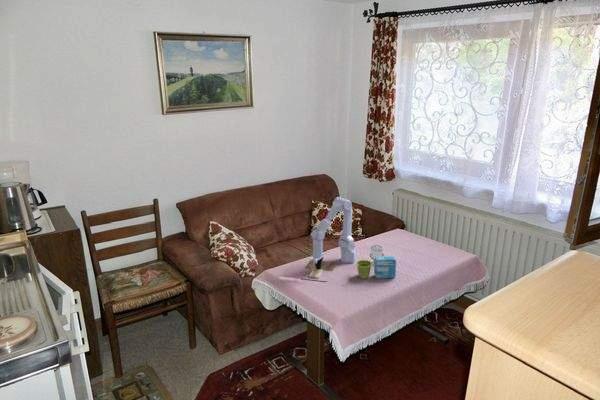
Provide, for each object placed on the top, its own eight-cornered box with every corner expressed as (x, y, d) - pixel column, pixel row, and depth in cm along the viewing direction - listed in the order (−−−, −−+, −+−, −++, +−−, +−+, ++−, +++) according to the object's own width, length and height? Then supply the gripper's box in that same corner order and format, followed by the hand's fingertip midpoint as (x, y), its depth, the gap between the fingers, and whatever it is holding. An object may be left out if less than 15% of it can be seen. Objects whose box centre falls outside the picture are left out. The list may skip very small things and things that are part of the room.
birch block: (322, 272, 255) (322, 269, 254) (318, 280, 246) (318, 276, 245) (313, 271, 256) (313, 268, 256) (309, 278, 247) (309, 275, 247)
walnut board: (337, 264, 266) (337, 262, 266) (332, 273, 254) (332, 271, 254) (310, 261, 271) (310, 259, 271) (304, 270, 260) (304, 268, 259)
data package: (375, 278, 246) (375, 260, 243) (374, 274, 251) (374, 256, 247) (395, 277, 246) (396, 259, 243) (393, 274, 250) (394, 256, 247)
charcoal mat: (331, 273, 255) (331, 272, 254) (326, 282, 244) (326, 281, 243) (306, 270, 259) (306, 269, 259) (300, 279, 248) (300, 278, 248)
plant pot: (370, 281, 243) (370, 267, 241) (354, 279, 247) (354, 265, 244) (373, 274, 252) (373, 261, 249) (357, 272, 255) (358, 259, 252)
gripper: (314, 243, 260) (315, 263, 264) (308, 253, 246) (309, 273, 250) (325, 244, 258) (326, 264, 262) (319, 254, 244) (320, 274, 248)
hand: (318, 269), depth 256 cm, fingers closed
